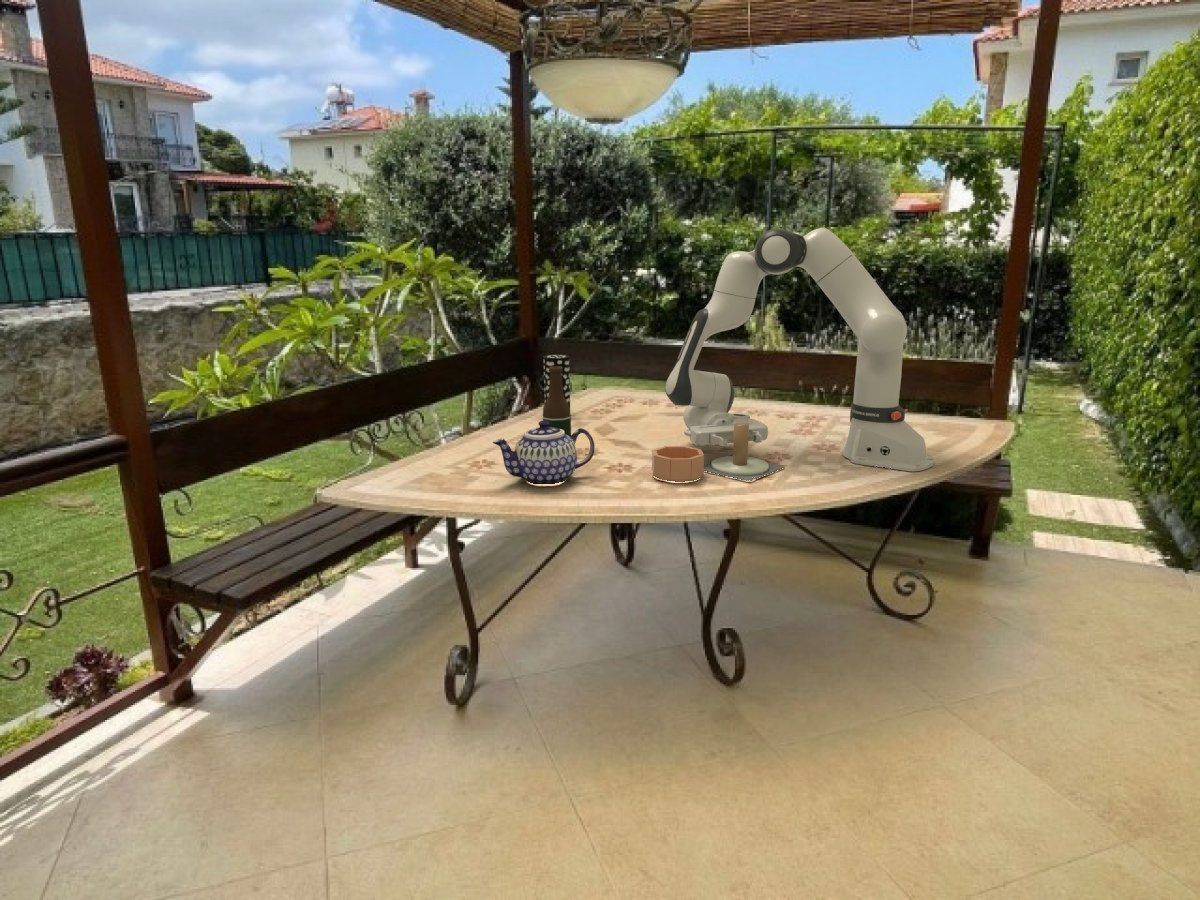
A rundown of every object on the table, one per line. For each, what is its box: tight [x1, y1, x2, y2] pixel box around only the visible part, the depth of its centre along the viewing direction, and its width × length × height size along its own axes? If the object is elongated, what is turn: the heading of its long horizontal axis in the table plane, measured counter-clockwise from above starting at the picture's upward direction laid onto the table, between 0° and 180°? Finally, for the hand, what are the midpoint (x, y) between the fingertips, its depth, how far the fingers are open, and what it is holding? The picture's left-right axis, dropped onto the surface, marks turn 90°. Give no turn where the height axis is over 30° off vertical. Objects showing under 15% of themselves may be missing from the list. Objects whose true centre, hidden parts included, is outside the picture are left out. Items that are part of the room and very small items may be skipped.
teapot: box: [492, 419, 595, 484], centre depth 176 cm, size 25×15×15 cm, turn 109°
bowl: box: [651, 445, 705, 482], centre depth 180 cm, size 12×12×6 cm
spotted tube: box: [542, 354, 571, 409], centre depth 242 cm, size 8×8×20 cm
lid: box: [711, 423, 769, 476], centre depth 185 cm, size 14×14×11 cm
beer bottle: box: [542, 366, 572, 436], centre depth 196 cm, size 8×8×24 cm
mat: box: [704, 454, 786, 481], centre depth 186 cm, size 16×16×1 cm
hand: (742, 440), depth 184 cm, fingers open, 8 cm apart
